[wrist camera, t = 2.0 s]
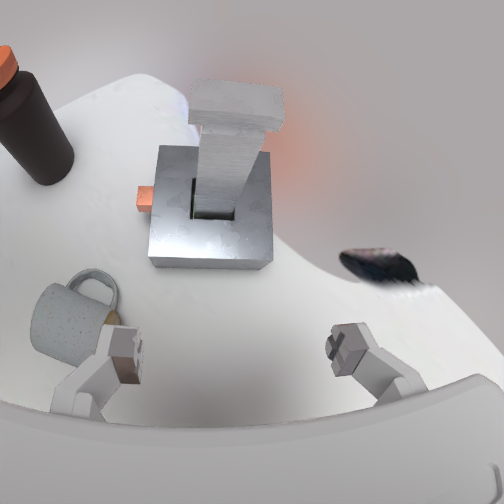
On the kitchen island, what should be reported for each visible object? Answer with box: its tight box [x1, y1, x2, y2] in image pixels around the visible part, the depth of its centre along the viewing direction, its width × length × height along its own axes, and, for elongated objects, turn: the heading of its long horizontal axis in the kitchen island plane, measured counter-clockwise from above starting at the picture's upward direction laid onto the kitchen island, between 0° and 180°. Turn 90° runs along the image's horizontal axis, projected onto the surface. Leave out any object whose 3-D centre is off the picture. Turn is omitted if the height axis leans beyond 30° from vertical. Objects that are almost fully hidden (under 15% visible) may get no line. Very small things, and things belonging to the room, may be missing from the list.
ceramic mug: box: [30, 269, 120, 367], centre depth 27 cm, size 11×8×8 cm
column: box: [188, 79, 285, 220], centre depth 25 cm, size 5×4×21 cm
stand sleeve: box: [136, 145, 273, 270], centre depth 33 cm, size 14×12×6 cm
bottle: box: [0, 46, 74, 185], centre depth 23 cm, size 7×7×20 cm
